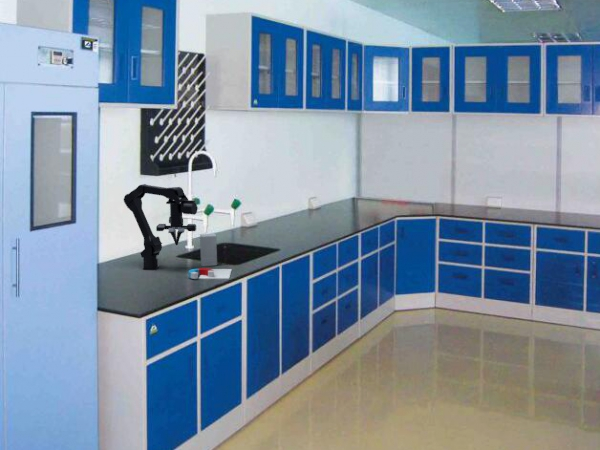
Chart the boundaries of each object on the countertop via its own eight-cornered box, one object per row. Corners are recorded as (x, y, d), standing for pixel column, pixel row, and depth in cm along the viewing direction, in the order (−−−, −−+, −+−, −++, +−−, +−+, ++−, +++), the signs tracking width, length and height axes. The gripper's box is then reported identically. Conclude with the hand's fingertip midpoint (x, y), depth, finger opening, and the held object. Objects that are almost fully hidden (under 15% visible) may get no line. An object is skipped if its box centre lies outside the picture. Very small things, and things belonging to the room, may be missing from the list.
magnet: (185, 275, 365) (192, 279, 356) (185, 269, 365) (192, 273, 356) (208, 272, 370) (215, 277, 362) (208, 267, 370) (215, 271, 361)
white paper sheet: (199, 279, 360) (199, 278, 360) (203, 269, 379) (203, 268, 379) (229, 279, 360) (229, 278, 360) (231, 270, 380) (231, 269, 380)
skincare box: (216, 263, 395) (216, 233, 393) (217, 266, 388) (217, 235, 386) (200, 263, 394) (199, 233, 392) (200, 266, 387) (200, 235, 385)
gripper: (197, 211, 380) (197, 242, 382) (159, 210, 379) (160, 242, 382) (194, 214, 369) (195, 246, 371) (155, 214, 368) (156, 246, 371)
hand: (176, 245), depth 374 cm, fingers closed
